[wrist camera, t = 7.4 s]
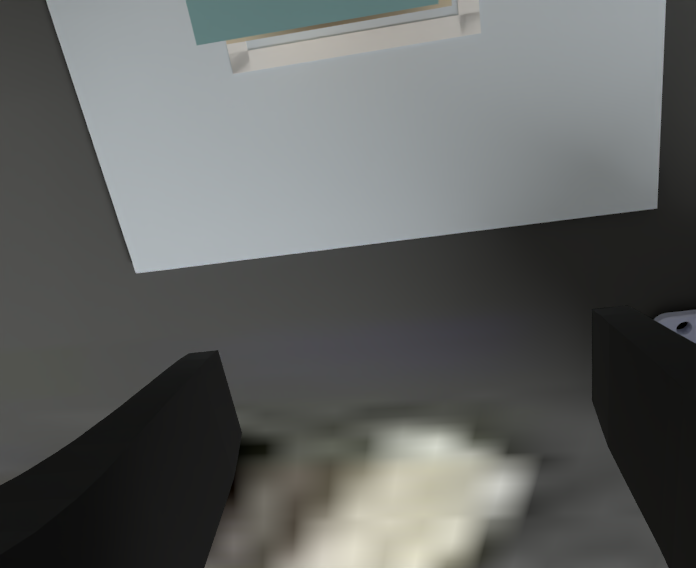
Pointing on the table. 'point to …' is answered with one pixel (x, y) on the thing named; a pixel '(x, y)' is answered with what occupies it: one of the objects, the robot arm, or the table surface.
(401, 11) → the base block
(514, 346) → the table surface
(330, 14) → the teal block
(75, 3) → the board
